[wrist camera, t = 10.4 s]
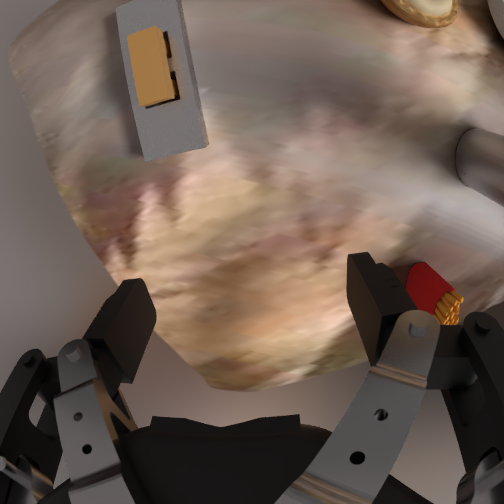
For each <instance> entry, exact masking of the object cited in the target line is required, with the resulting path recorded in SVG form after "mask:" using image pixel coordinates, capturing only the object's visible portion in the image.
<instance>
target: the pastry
mask: <svg viewBox="0 0 504 504" xmlns="http://www.w3.org/2000/svg"><path fill="white" fill-rule="evenodd" d="M381 2H382V3H383V4H384V5H385V6H386V7H387V8H388V9H389V10H390V11H391V12H392V13H393V14H395V15H396V16H398V17H399V18H400V19H402V20H404V21H406V22H408V23H410V24H413V25H416V26H420V27H424V28H440V27H446V26H448V25H450V24H452V23H453V22H454V20H455V18H456V16H457V9H458V3H457V0H381Z"/></svg>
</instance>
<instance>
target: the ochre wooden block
mask: <svg viewBox="0 0 504 504" xmlns="http://www.w3.org/2000/svg"><path fill="white" fill-rule="evenodd" d="M127 40H128V47H129V53H130V59H131V65H132V70H133V76H134V81H135V87H136V92H137V97H138V102H139V106H149V105H153V104H156V103H159V102H163V101H166V100H170V99H174V98H175V97H174V96H178V95H180V94H179V89H178V84H177V81H176V80H173V79H171V77H170V72H169V66H168V61H167V58H170V57H172V53H171V48H170V43H169V42H167V41H166V40H164V39H163V33H162V31H161V30H160V29H159V28H158V27H156V26H153V27H150V28H147V29H144V30H141V31H139V32H136V33H133V34H131V35H128V36H127Z"/></svg>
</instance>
